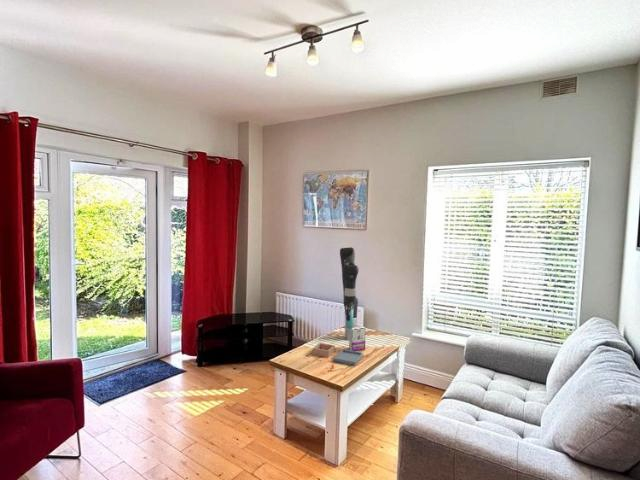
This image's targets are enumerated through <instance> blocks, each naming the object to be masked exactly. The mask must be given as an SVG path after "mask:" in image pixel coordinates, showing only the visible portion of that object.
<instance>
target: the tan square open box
mask: <svg viewBox="0 0 640 480" xmlns="http://www.w3.org/2000/svg"><path fill="white" fill-rule="evenodd" d="M335 350H336V345H334V344H328V343H323V342H319V343H318V344H316V345H315V346H314V347H312V355H313V356H317V357H318V356H319V357H322V358H323V357H324V358H330V357H331V356H332V355H333V354H335V352H336V351H335Z"/></svg>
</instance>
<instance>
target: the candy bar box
mask: <svg viewBox="0 0 640 480" xmlns="http://www.w3.org/2000/svg"><path fill="white" fill-rule="evenodd" d="M348 342H349V343H348V344H349V348H348V350H351V351H356V352H361V351H365V350H366V327H365V326H364V325H363V326H362V325H361V326H360V325H359V326H357V327H353V328H349V340H348Z"/></svg>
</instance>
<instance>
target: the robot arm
mask: <svg viewBox="0 0 640 480" xmlns="http://www.w3.org/2000/svg"><path fill="white" fill-rule="evenodd" d="M355 255H356V252H355V249H354V247H341V248H340V249H339V257H340V265H341V278H342V279H341V280H342V288H343V289H342V292H343V307H344V313H345V315H344V317H345V319H344V323H345V324H344V339H345V340H347V341H349V328H346V320H347V321H350V312H351V309H353V327H358V325H357V324H358V306H359V299H358V298H357V296H356V295H357V294H356V293H357V292H356V291H357V290H356V288H357V287H356V285H357V283H356V282H357V278H358V275H359V266H358V265H356V264H355V261H356V260H355V258H356V256H355ZM347 312H348V313H347ZM346 315H347V316H346Z"/></svg>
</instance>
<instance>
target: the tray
mask: <svg viewBox="0 0 640 480" xmlns="http://www.w3.org/2000/svg"><path fill="white" fill-rule="evenodd" d="M363 357H364V352H362V351H351V350H349V349H345V348H342V349H341V350H340V351H339V352H338V353H337V354H336V355H334V357H333V358H332V359H333V362H334V363H338V364H343V365H349V366H354V367H356V365H358V363H359V362H360V360H361V359H362V358H363Z"/></svg>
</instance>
